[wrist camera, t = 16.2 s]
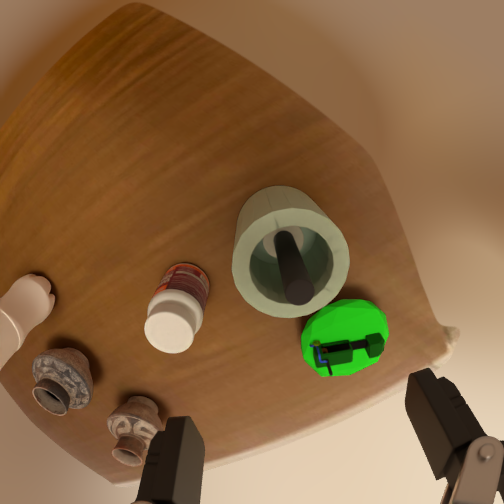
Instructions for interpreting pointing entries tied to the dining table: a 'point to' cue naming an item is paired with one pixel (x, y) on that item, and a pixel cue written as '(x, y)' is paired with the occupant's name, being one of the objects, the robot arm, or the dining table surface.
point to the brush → (290, 263)
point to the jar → (313, 251)
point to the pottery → (79, 396)
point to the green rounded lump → (344, 337)
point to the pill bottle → (177, 308)
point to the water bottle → (23, 312)
